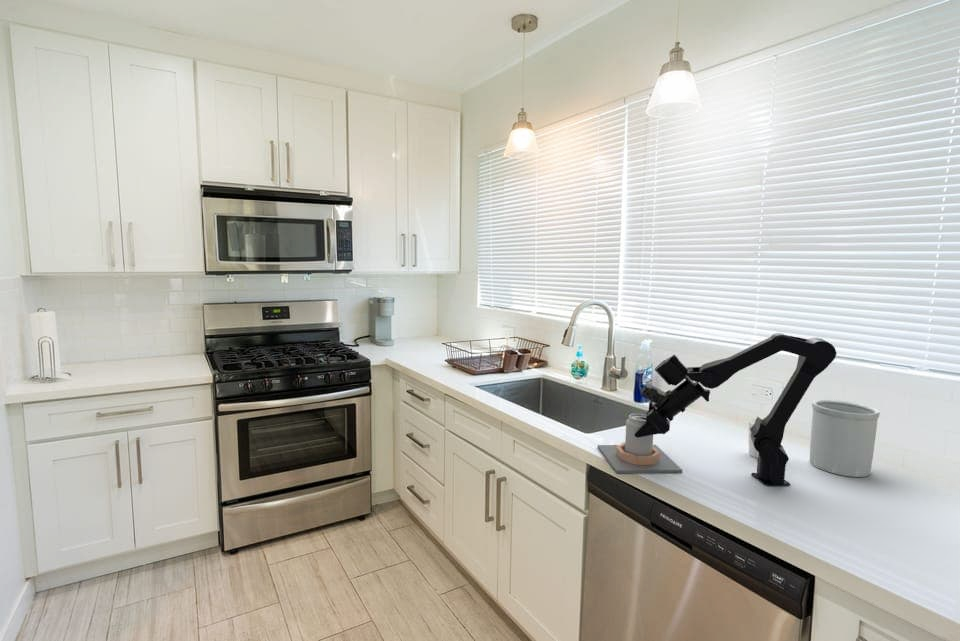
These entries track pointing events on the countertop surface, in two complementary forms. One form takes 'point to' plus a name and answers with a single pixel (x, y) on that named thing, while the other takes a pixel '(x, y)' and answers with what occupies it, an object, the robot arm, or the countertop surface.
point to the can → (637, 445)
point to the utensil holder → (843, 437)
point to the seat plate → (638, 460)
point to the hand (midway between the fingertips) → (636, 430)
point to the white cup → (752, 449)
